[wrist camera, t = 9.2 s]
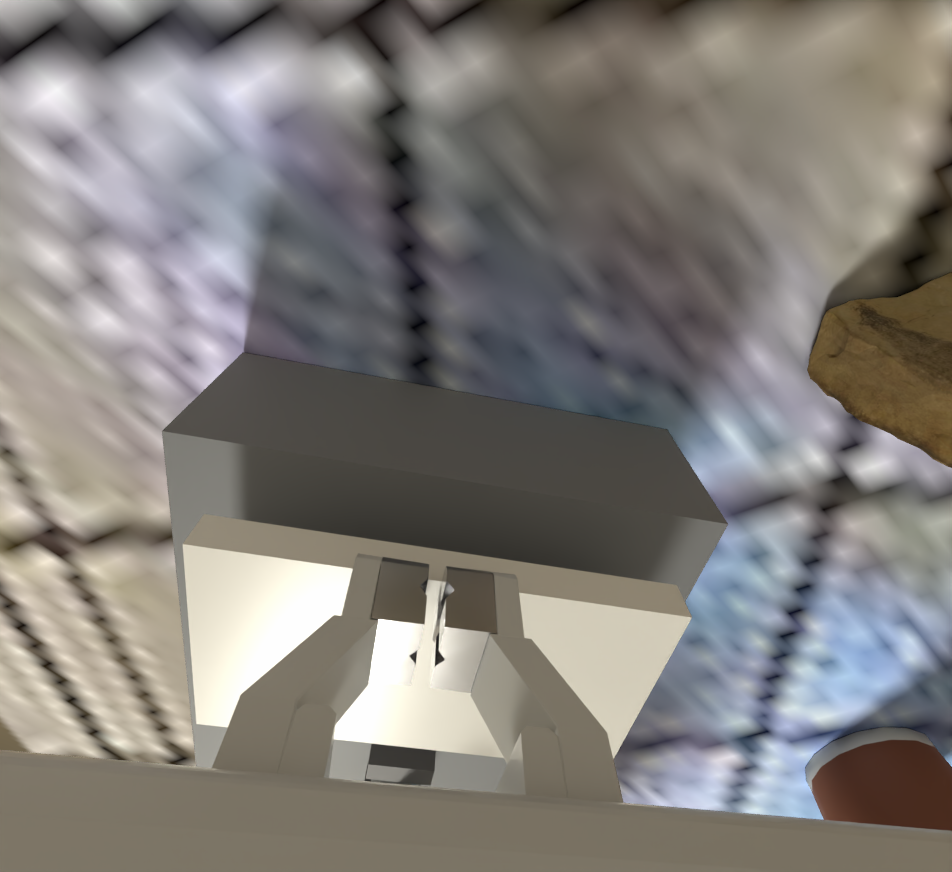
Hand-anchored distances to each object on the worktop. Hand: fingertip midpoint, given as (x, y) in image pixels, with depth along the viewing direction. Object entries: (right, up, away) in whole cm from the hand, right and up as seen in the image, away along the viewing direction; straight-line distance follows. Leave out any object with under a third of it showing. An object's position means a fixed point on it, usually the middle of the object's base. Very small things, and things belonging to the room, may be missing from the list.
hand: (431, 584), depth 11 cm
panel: (-2, -5, +12) cm, 13 cm away
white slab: (0, -2, +2) cm, 3 cm away
